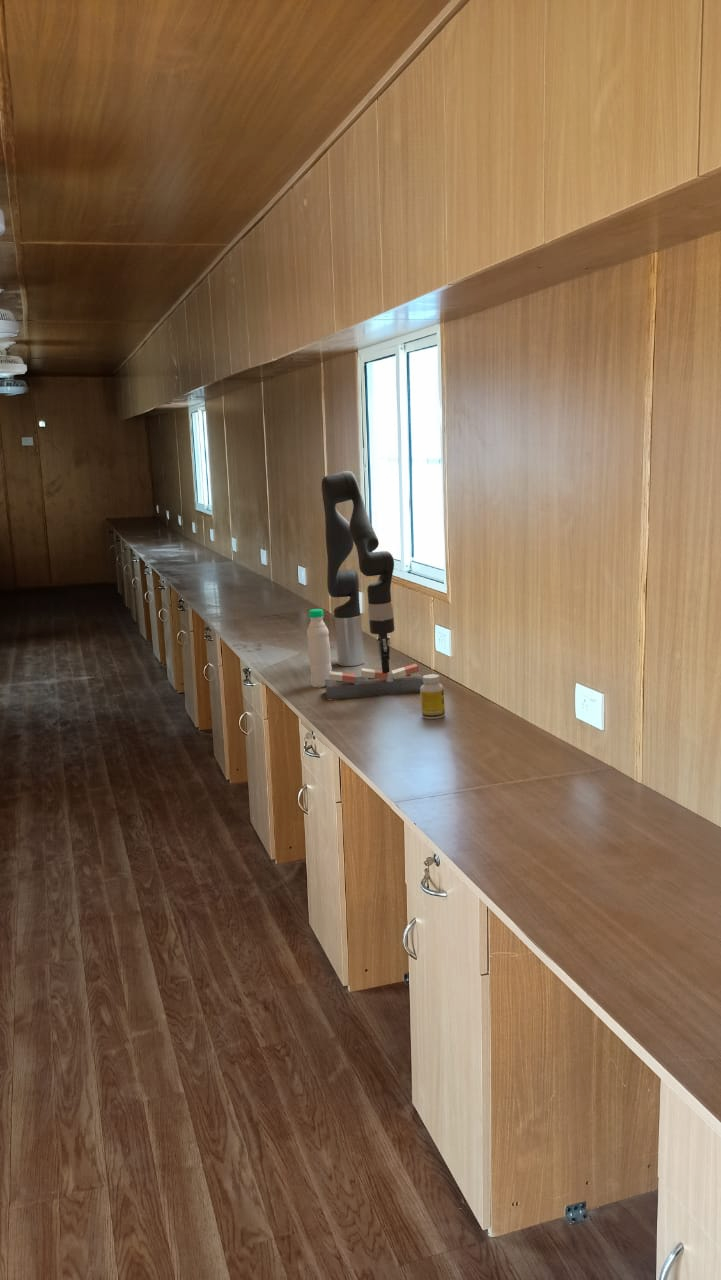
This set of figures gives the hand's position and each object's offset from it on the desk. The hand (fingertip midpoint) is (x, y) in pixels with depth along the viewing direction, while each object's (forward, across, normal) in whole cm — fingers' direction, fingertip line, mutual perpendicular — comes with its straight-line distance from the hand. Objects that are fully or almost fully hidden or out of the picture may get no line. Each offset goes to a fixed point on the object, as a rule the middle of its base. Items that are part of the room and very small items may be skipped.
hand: (385, 672), depth 304 cm
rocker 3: (+1, 0, +6) cm, 6 cm away
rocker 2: (+1, 0, -4) cm, 4 cm away
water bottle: (+6, -17, -20) cm, 27 cm away
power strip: (+6, -2, -4) cm, 8 cm away
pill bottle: (+7, +31, +10) cm, 34 cm away
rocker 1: (+1, 0, -14) cm, 14 cm away
